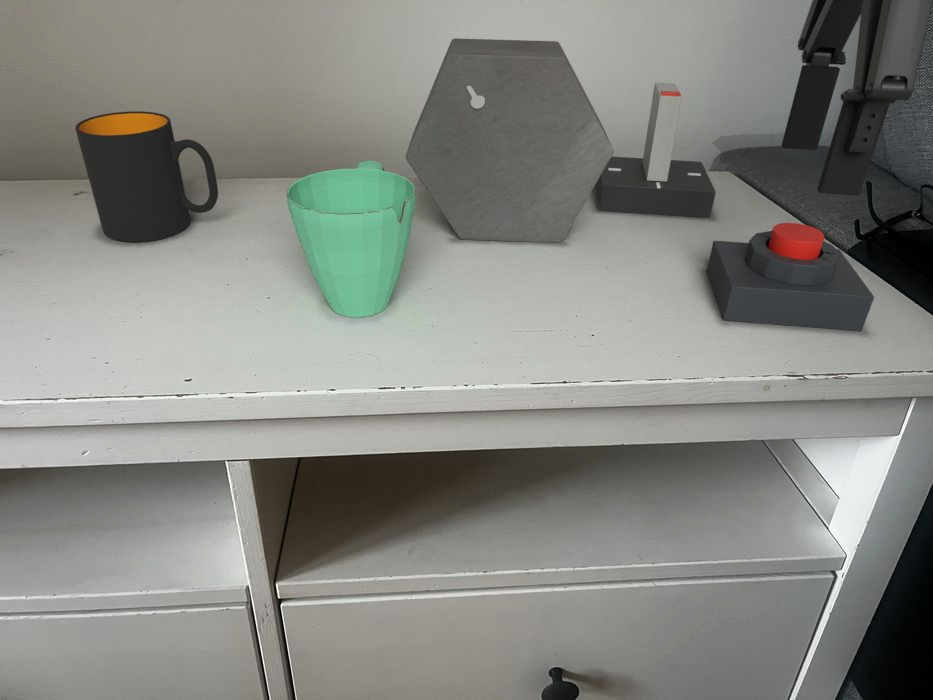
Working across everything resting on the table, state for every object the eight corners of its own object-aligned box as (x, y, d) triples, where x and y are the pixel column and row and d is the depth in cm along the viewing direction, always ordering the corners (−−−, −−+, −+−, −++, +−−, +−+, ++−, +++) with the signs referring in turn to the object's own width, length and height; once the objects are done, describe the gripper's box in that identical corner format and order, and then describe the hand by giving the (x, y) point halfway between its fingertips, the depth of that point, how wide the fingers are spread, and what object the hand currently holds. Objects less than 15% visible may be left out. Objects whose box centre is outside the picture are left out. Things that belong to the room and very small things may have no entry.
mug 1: (210, 245, 70) (190, 138, 64) (87, 241, 70) (57, 134, 64) (236, 212, 76) (220, 113, 71) (125, 208, 77) (100, 109, 71)
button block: (828, 280, 66) (845, 230, 63) (861, 331, 59) (882, 276, 56) (706, 272, 67) (717, 221, 64) (723, 320, 60) (737, 266, 57)
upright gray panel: (642, 163, 84) (655, 80, 79) (661, 164, 84) (675, 81, 79) (646, 180, 79) (660, 93, 74) (667, 181, 79) (682, 94, 74)
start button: (810, 243, 62) (816, 224, 61) (824, 263, 58) (831, 243, 58) (763, 240, 62) (768, 221, 61) (773, 260, 59) (779, 240, 58)
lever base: (696, 185, 87) (701, 160, 85) (710, 218, 78) (716, 190, 76) (596, 179, 88) (599, 154, 86) (598, 211, 79) (602, 183, 77)
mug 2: (411, 335, 56) (408, 216, 51) (287, 331, 57) (271, 211, 51) (427, 255, 69) (426, 151, 63) (324, 251, 69) (315, 148, 64)
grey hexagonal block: (627, 172, 76) (530, -14, 66) (639, 199, 69) (533, -3, 60) (488, 249, 81) (381, 87, 72) (488, 281, 74) (370, 107, 65)
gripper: (807, -173, 54) (739, 125, 66) (933, -204, 35) (806, 220, 47) (911, -171, 53) (824, 130, 66) (1096, -202, 35) (926, 228, 47)
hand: (816, 168), depth 56 cm, fingers open, 10 cm apart
